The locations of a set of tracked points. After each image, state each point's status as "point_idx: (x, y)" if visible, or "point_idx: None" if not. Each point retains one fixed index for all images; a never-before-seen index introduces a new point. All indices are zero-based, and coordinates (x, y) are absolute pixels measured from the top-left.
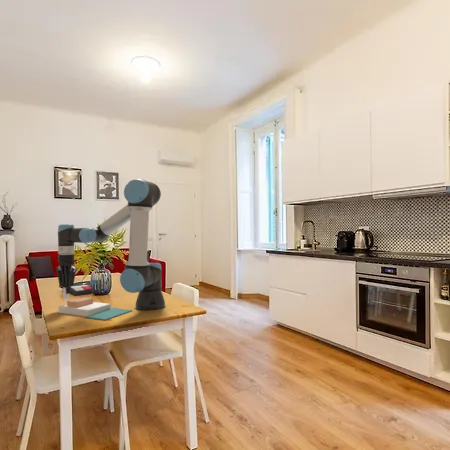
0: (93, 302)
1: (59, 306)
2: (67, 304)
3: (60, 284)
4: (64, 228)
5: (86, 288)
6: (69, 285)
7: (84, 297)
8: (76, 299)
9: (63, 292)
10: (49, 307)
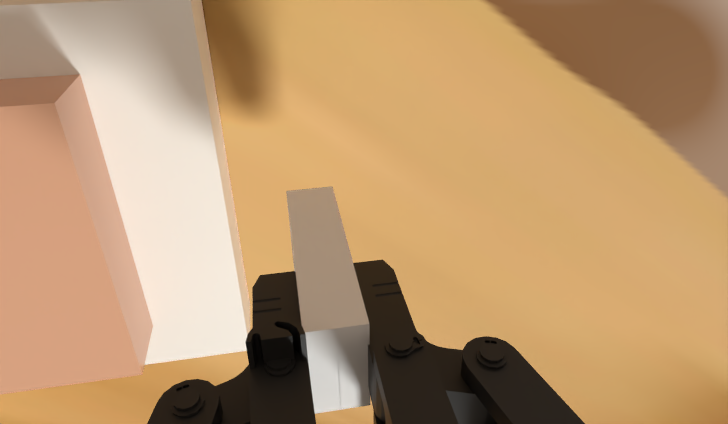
0: None
1: (182, 7)
2: (63, 84)
3: (478, 361)
4: None
5: None
6: (159, 406)
7: (109, 374)
8: (63, 255)
9: (343, 259)
10: (563, 117)
